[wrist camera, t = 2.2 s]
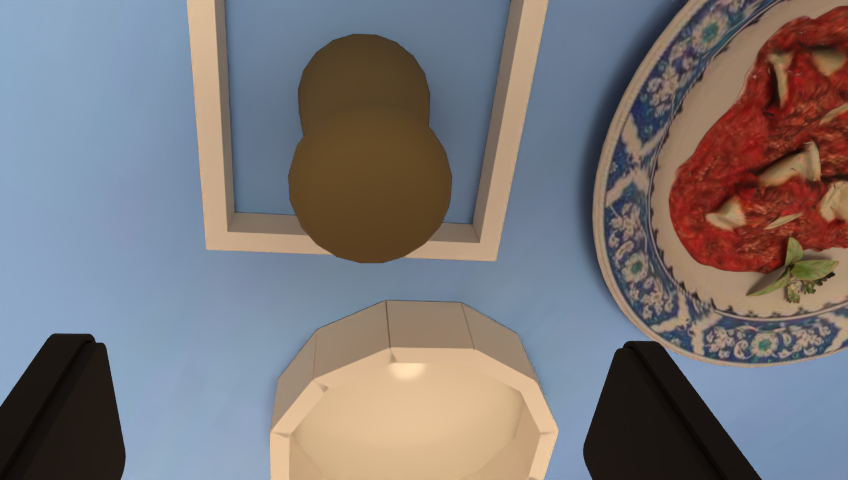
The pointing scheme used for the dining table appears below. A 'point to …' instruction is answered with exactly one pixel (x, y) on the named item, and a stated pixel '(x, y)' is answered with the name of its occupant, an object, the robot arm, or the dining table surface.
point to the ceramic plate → (733, 184)
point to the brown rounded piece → (367, 152)
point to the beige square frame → (285, 230)
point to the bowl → (411, 400)
